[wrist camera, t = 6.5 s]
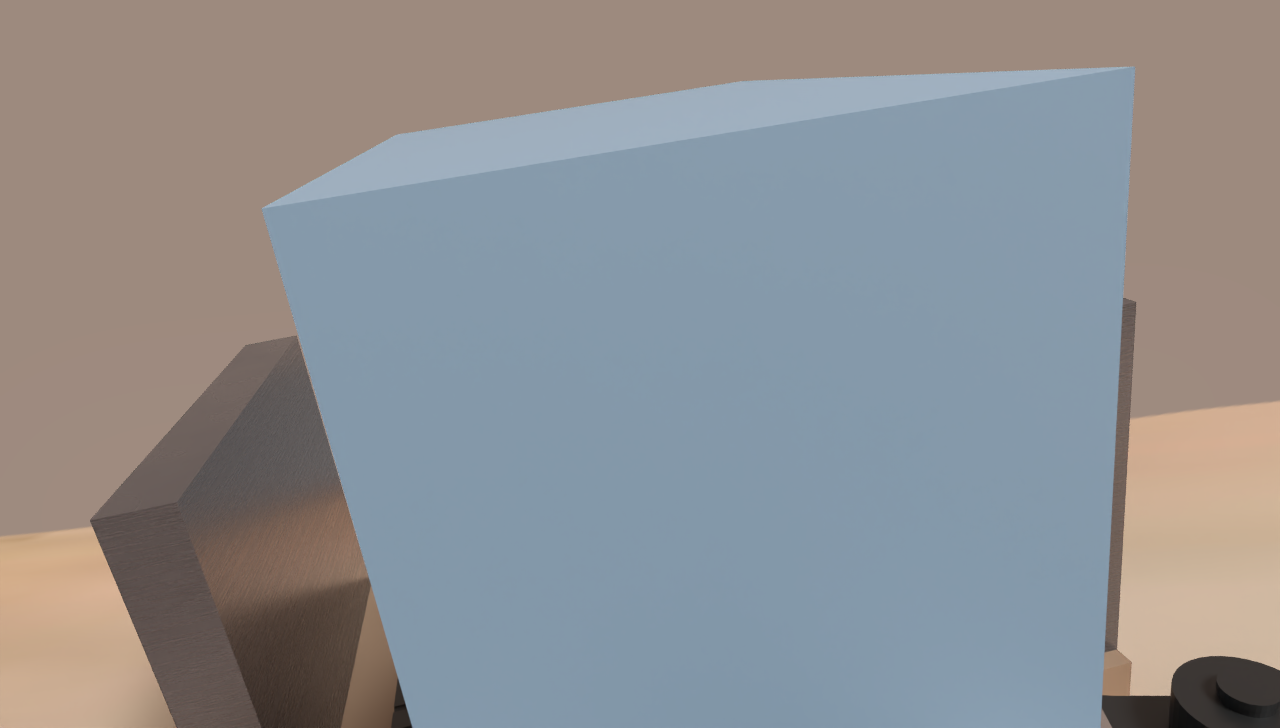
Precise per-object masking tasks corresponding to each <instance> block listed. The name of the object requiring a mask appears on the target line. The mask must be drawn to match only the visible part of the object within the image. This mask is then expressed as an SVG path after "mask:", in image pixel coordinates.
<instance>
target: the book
mask: <svg viewBox="0 0 1280 728" xmlns="http://www.w3.org/2000/svg"><path fill="white" fill-rule="evenodd" d="M1134 78H1135V67H1113V68H1085V69H1058V70H1031V71H1005V72H977V73H952V74H951V73H950V74H923V75H897V76H869V77H843V78H816V79H789V80H762V81H742V82H735V83H728V84H722V85H716V86H709V87H703V88H696V89H690V90H683V91H677V92H671V93H664V94H657V95H651V96H645V97H638V98H632V99H625V100H619V101H612V102H606V103H600V104H593V105H586V106H580V107H573V108H567V109H560V110H554V111H548V112H541V113H535V114H529V115H522V116H515V117H509V118H502V119H496V120H489V121H483V122H476V123H470V124H464V125H457V126H451V127H444V128H438V129H432V130H425V131H418V132H412V133H405V134H400V135H396V136H394V137H392V138H390V139H388V140H386V141H384V142H383V143H381V144H379V145H377V146H375V147H373V148H372V149H370V150H368V151H366V152H364V153H363V154H361V155H359V156H357V157H355V158H353V159H352V160H350V161H348V162H346V163H344V164H342V165H341V166H339V167H337V168H335V169H333V170H331V171H330V172H328V173H326V174H324V175H323V176H320V177H319V178H317V179H315V180H313V181H311V182H309V183H308V184H306V185H304V186H302V187H300V188H298V189H297V190H295V191H293V192H291V193H289V194H288V195H286V196H284V197H282V198H280V199H278V200H276V201H275V202H273V203H271V204H269V205H267V206H266V207H264V208H262V211H263V215H264V218H265V222H266V225H267V229H268V232H269V235H270V239H271V242H272V246H273V249H274V253H275V256H276V260H277V263H278V267H279V270H280V273H281V277H282V280H283V284H284V287H285V291H286V294H287V298H288V301H289V304H290V308H291V311H292V315H293V318H294V322H295V325H296V328H297V332H298V335H299V339H300V342H301V346H302V349H303V352H304V356H305V359H306V363H307V366H308V370H309V373H310V376H311V380H312V384H313V387H314V390H315V394H316V397H317V401H318V404H319V408H320V411H321V415H322V418H323V421H324V424H325V428H326V432H327V435H328V438H329V442H330V445H331V449H332V452H333V455H334V459H335V463H336V466H337V469H338V473H339V476H340V480H341V483H342V487H343V490H344V494H345V497H346V501H347V504H348V507H349V511H350V514H351V518H352V521H353V525H354V528H355V532H356V535H357V538H358V542H359V545H360V549H361V552H362V556H363V559H364V562H365V566H366V569H367V573H368V576H369V580H370V583H371V587H372V590H373V593H374V597H375V600H376V604H377V607H378V611H379V614H380V618H381V621H382V624H383V628H384V631H385V635H386V638H387V642H388V645H389V649H390V652H391V655H392V659H393V662H394V666H395V669H396V673H397V676H398V679H399V683H400V686H401V690H402V693H403V697H404V700H405V704H406V707H407V710H408V714H409V717H410V721H411V724H412V728H1101V708H1102V689H1103V670H1104V651H1105V632H1106V613H1107V594H1108V575H1109V556H1110V537H1111V517H1112V498H1113V479H1114V460H1115V441H1116V422H1117V403H1118V384H1119V365H1120V345H1121V326H1122V307H1123V288H1124V287H1123V286H1124V268H1125V249H1126V231H1127V212H1128V211H1127V210H1128V192H1129V173H1130V154H1131V134H1132V116H1133V96H1134Z"/></svg>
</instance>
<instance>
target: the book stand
mask: <svg viewBox="0 0 1280 728" xmlns="http://www.w3.org/2000/svg"><path fill="white" fill-rule="evenodd" d="M1131 664H1132V662H1131V661H1130V660H1128V659H1127V658H1126V657H1125V656H1124V655H1123V654H1122V653H1120V652H1119V651H1118V650H1117V649H1116V650H1113V651H1109V652H1105V653H1104V670H1103V689H1102V695H1109V696H1129V695H1130V679H1131ZM397 679H398V676H397V673H396V669H395V666H394V662H393V659H392V655H391V652H390V649H389V645H388V642H387V638H386V635H385V631H384V628H383V624H382V621H381V618H380V614H379V611H378V607H377V604H376V600H375V597H374V593H373V590H372V587H370V592H369V596H368V601H367V606H366V611H365V615H364V620H363V625H362V630H361V634H360V639H359V644H358V649H357V654H356V658H355V663H354V668H353V673H352V677H351V682H350V687H349V692H348V696H347V701H346V706H345V711H344V716H343V720H342V725H341V728H391V724H392V716H393V712H394V701H395V694H396V686H397Z"/></svg>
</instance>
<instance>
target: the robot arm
mask: <svg viewBox="0 0 1280 728" xmlns="http://www.w3.org/2000/svg"><path fill="white" fill-rule="evenodd" d="M391 728H412V724H411V721H410V717H409V714H408V710H407V707H406V704H405V700H404V697H403V693H402V690H401V686H400V683H399V679H397V686H396V694H395V701H394V712H393V716H392V724H391ZM1101 728H1280V671H1279V670H1277V669H1275V668H1273V667H1270V666H1267V665H1264V664H1262V663H1258V662H1254V661H1251V660H1247V659H1241V658H1236V657H1225V656H1209V657H1202V658H1197V659H1194V660H1190V661H1188V662H1186V663H1184V664H1183V665H1181V666H1180V667H1179V668H1178V669H1177V670H1176V672H1175V673H1174V675H1173V678H1172V685H1171V696H1109V695H1102V708H1101Z"/></svg>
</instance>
